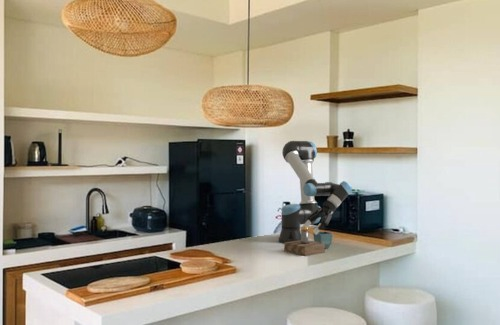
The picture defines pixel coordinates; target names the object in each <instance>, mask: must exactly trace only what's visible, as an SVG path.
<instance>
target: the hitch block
mask: <svg viewBox="0 0 500 325" xmlns="http://www.w3.org/2000/svg"><path fill="white" fill-rule="evenodd" d="M283 244H284V248H283V251H284V252H285V253H289V254H295V255H299V256H303V257H308V256H313V255H319V254H323V253H325V250H326V248H325V244H324V243H318V242H314V240H313V241H312V240H308V244H301V240H299V241H292V242H285V243H283Z"/></svg>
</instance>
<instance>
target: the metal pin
mask: <svg viewBox="0 0 500 325" xmlns="http://www.w3.org/2000/svg"><path fill="white" fill-rule="evenodd" d="M300 232H301V244H308V241H309V227H302V226H300Z"/></svg>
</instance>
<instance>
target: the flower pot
mask: <svg viewBox="0 0 500 325" xmlns="http://www.w3.org/2000/svg"><path fill="white" fill-rule="evenodd" d="M312 233H313V232H312ZM333 236H334V233H332V232H328V231H319V232H318V234H317V235H315V234H314V233H313V242H318V243H324V244H325V249H329V248H330V247H331V245H332V242H333Z"/></svg>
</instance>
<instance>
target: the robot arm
mask: <svg viewBox="0 0 500 325" xmlns="http://www.w3.org/2000/svg"><path fill="white" fill-rule="evenodd" d="M281 151H282V157H283V159H284V161H285V162H286V163H287V164H289V165H290V167H291V169H292V170H293V172H294V173H295V174H296V176H297V177H298V179H299V188H300V199H301V200H300V202H299V203H292V204H291V203H290V204H286V205H283V206H282V207H281V230H280V233H279V236H278V242H279V243H282V244H284V243H285V242H292V241H299V240H301V227H308V228H309V227H310V226H311V225H313V224H318V223H319V224H318V225H317V226H316V227H315V228H314V229H313V230H312V233H314V234H315V235H317V234H318V232H321V231H322V229H323V228H324V227H325V226H326V227H327V226H329V223H330V221H331V219H332V217H333V216H334V213H335V211H336V210H337V209H338V208H339V206H340V205H341V204H342V202H343V201H344V200H346V198H347V197H348V196H349V195H350V193H351V192H352V190H353V187H352V186H351V184H350V183H349V182H348V181H345V180H343V181H342V182H340V183H338V184H337V183H334V182H330V181H325V182H317V181H316V179H315V178H314V175H313V163H314V161H315V159H316V158H317V154H318V150H317V147H316V144H315V143H314V142H313V141H308V140H290V141H288V142H286V143H285V144H284V145H283V147H282V150H281ZM321 196H322V197H323V196H325V197H326V196H327V197H328V198H327V199H326V200H325V201H324V202H323V203H322V207H321V206H320V205H318V202H317V201H316V200H315V197H321ZM320 220H321V221H320ZM301 225H302V226H301Z"/></svg>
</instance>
